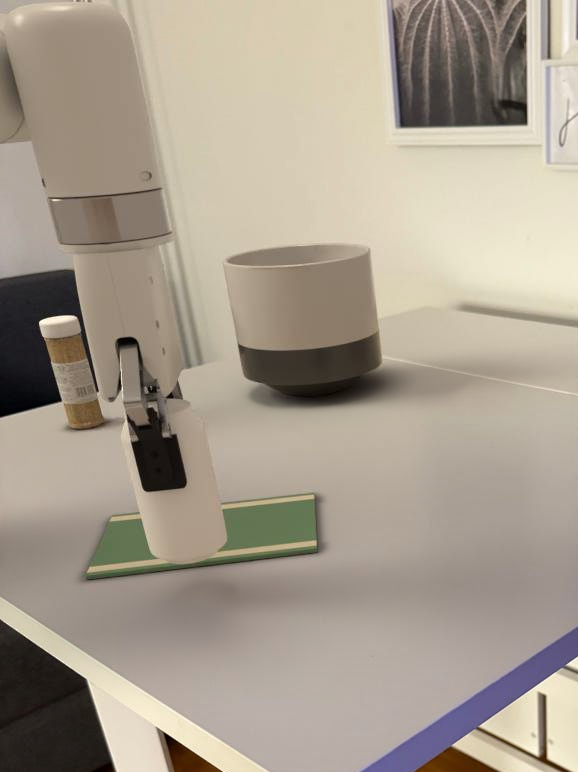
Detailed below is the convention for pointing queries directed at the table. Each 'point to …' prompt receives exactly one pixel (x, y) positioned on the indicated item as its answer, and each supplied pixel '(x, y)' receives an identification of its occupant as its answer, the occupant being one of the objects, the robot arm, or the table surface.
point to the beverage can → (182, 495)
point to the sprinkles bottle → (72, 371)
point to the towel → (244, 541)
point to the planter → (305, 316)
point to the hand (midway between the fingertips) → (170, 471)
